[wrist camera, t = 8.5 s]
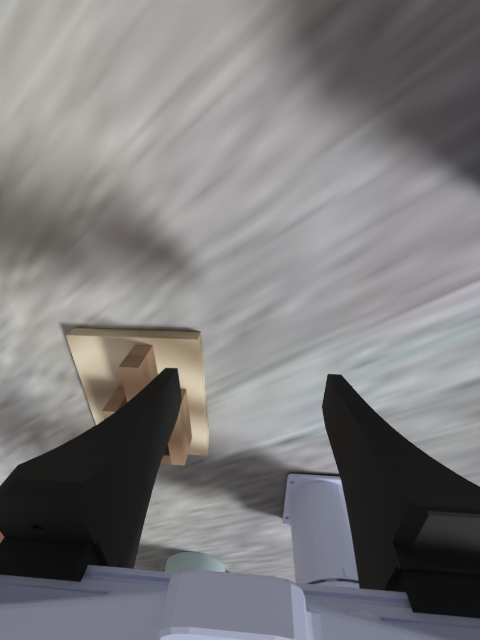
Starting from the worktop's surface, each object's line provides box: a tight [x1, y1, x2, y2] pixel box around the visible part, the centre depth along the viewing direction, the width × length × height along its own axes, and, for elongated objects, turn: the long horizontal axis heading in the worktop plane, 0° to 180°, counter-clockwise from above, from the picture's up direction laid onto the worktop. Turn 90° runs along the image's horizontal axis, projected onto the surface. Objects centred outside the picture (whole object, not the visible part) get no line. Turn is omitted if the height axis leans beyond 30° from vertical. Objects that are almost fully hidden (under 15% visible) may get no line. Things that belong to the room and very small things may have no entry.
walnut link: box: [102, 345, 192, 465], centre depth 24 cm, size 11×6×3 cm, turn 0°
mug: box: [164, 552, 225, 573], centre depth 39 cm, size 14×9×10 cm
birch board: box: [66, 328, 210, 456], centre depth 26 cm, size 14×11×1 cm
